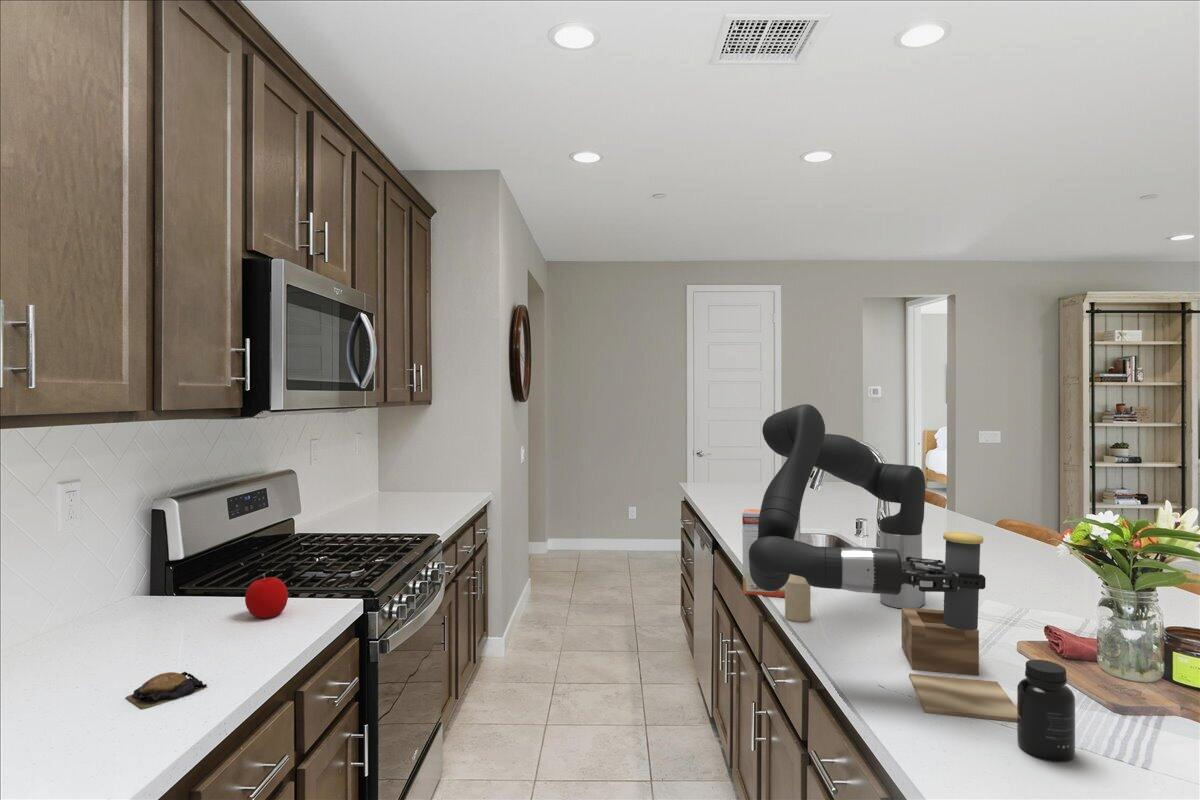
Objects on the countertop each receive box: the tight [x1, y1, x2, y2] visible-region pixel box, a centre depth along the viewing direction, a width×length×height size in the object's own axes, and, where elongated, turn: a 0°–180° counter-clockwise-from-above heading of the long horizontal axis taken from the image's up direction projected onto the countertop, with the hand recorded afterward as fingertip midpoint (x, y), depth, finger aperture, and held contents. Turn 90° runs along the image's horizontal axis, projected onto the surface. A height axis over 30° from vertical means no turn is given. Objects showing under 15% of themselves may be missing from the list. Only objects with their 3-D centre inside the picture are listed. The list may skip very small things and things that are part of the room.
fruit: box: [244, 573, 289, 619], centre depth 156 cm, size 9×9×10 cm
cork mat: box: [908, 673, 1017, 723], centre depth 112 cm, size 14×14×1 cm
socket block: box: [901, 607, 980, 676], centre depth 128 cm, size 11×11×8 cm
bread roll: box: [125, 671, 208, 710], centre depth 116 cm, size 11×8×4 cm
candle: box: [784, 574, 812, 623], centre depth 152 cm, size 6×6×10 cm
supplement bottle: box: [1016, 659, 1076, 763], centre depth 95 cm, size 7×7×12 cm
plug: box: [942, 531, 984, 630], centre depth 112 cm, size 6×6×15 cm
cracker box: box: [741, 508, 802, 598], centre depth 171 cm, size 14×6×21 cm, turn 71°
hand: (979, 577), depth 111 cm, fingers closed on plug, 5 cm apart
